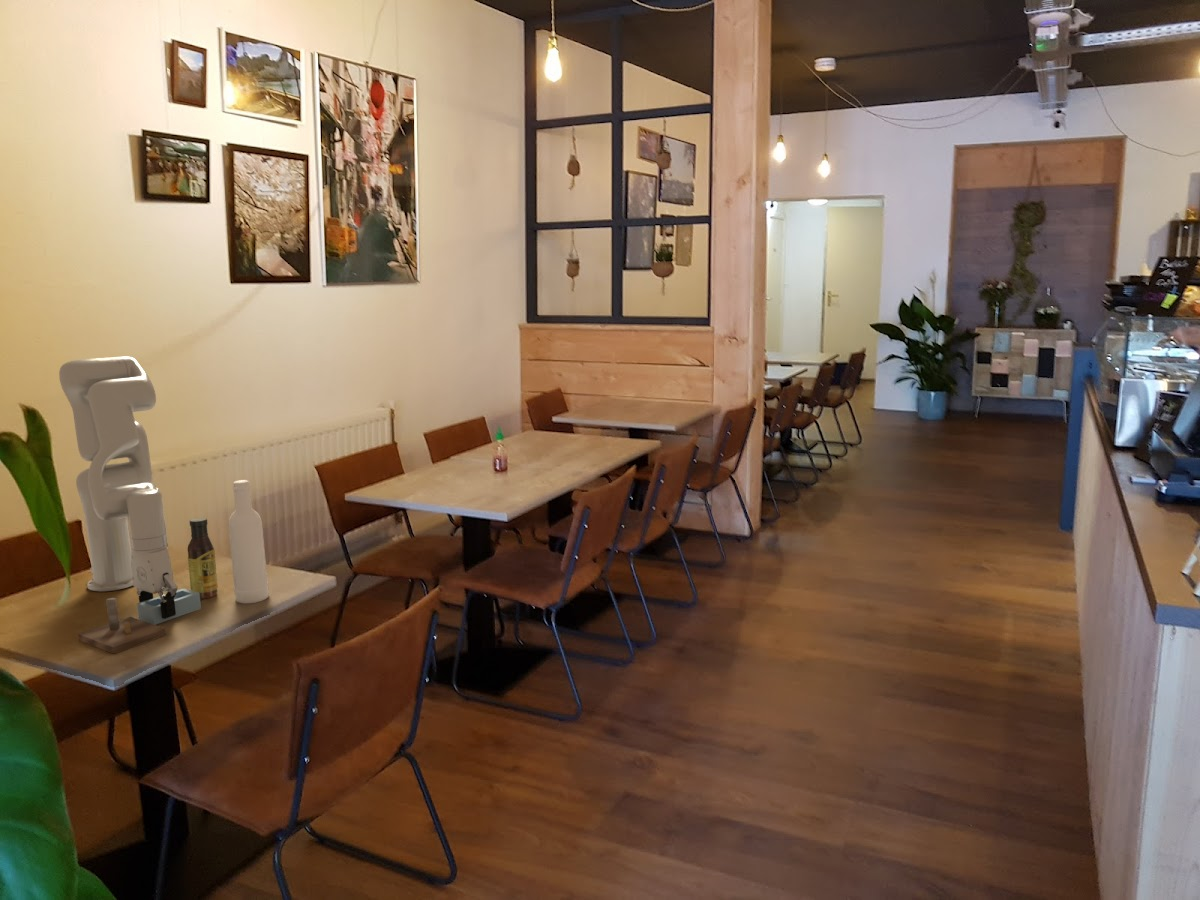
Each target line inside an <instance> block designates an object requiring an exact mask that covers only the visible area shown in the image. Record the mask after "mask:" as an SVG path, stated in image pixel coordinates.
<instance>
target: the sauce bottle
mask: <svg viewBox="0 0 1200 900" xmlns="http://www.w3.org/2000/svg"><path fill="white" fill-rule="evenodd" d="M189 526H190V532H191V533H190V534H191V536H190V537H191V539H190V541H189V543H188V545H187V554H188V555H187V564H188V574H189V583H190V585H189V587H190V590H191V591H195V592H198V593H200V600H203V599H209V598H213V597H215V596H216V595H217V594H218V587H219V586H218V578H217V576H218V575H217V563H216V553H215V548H214V546H213V543H212V542H211V539H210V537H209V533H208V519H207V517H195V518H191V519H190V520H189Z"/></svg>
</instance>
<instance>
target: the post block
mask: <svg viewBox="0 0 1200 900" xmlns="http://www.w3.org/2000/svg"><path fill="white" fill-rule="evenodd" d="M105 603H106V604H105V606H106V612H107V618H108V623H107V624H105V625H102V626H98V627H96V628H93V629H90V630H87V631H84V632H80V633H78V641H80V642H83V643H85V644H87V645H90V646H93V647H95V648H98V649H101V650H103V651H105V652H109V653H111V654H115V655H116V654H117V653H120V652H123V651H126V650H128V649H129V650H130V648H134V647H137V646H139V645H142V644H145V643H147V642H150V641H153V640H156V639H158V638H161V637H164V636H166V635H167V633H166V631H167V630H166V628H164V627H163V626H162V627H161V626H158V625H157V624H156V625H153V624H151V623H148V622H145V621H142V620H139V618H135V617H133V616H128V617H125V618H121V619H119V613H118V605H117V598H116V597H110V598H109V597H108V598H107V599H105Z"/></svg>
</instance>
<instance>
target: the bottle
mask: <svg viewBox="0 0 1200 900" xmlns="http://www.w3.org/2000/svg"><path fill="white" fill-rule="evenodd" d="M232 485H233V486H232V490H233V495H234V504H235V510H234V511H233V512H232V513H231V515H230V517H229V520H228V524H227V525H228V526H227V527H228V529H227V530H228V536H229V547H230V555H231V565H232V566H231V567H232V575H233V576H232V577H233V585H234V587H233V589H234V590H233V591H234V597H235V601H236V602H237V603H239V604H246V605H247V604H256V603H259V602H263V601H265V600H267V598H269V596H270V595H269V590H270V589H269V583H268V574H267V572H268V571H267V562H266V561H267V560H266V552H265V540H264V531H263V521H262V519H261V515H260V514H259V512H258V511H256V510H255V509H254V508H252V500H251V485H250V481H249V480H247V479H240V480H235V481H233V483H232Z"/></svg>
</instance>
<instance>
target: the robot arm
mask: <svg viewBox="0 0 1200 900" xmlns="http://www.w3.org/2000/svg"><path fill="white" fill-rule="evenodd" d="M58 377H59V382H60V383H59V384H60V386H61V388H62V391H63V393H64V395H65V397H66V399H67V400H68V402H69V405H70V407H71V409H72V414H73V421H74V429H75V430H74V431H75V436H76V437H75V438H76V443H77V447H78V449H77V450H78V453H79V454H80V457H81V458H82V459H83V460H84V461H86V462H90V466H89V468H86V469H84V470H82V471H80V472H79V474H78V475H77V477H76V479H75V484H76V485H75V486H76V489H77V493H78V496H79V499H80V503H81V505H82V511H83V516H84V520H85V529H86V534H87V543H88V550H89V556H90V557H89V558H90V564H91V567H90V568H89V572H91V573H92V579H90V580H88V582H87V584H86V585H87V589H88V590H89V591H93V592H112V591H119V590H124V589H126V588H129V587H134V588H135V589H136V595H138V601H139V602H138V603H140V602H144V601H147V600H150V599H153V598H154V594H155V595H156V594H158V597H159V596H160V598H161V601H162V602H161V603H160V606H161V615H162V618H163V619H166V618H169V617H171V616H174V615H176V611H175V602H174V599H175V596H176V591H177V590H178V589H179V588H178V585H177V583H176V582H175V581H174V573H173V572H174V571H173V567H172V563H171V562H172V561H171V557H170V553H169V550H168V547H169V544H168V535H167V527H166V526H167V525H166V518H165V510H164V508H165V507H164V501H163V495H162V492H161V491H160V489H159V488H158V487H156V485H155V484H154V481H153V471H152V470H153V469H152V463H151V456H150V449H149V440H148V436H147V433H146V430H145V428H144V427H143V425H142V424H141V423H140V422H138V421H136V420H135V416H134V413H135V412H136V413H137V412H143V411H150V410H152V409H154V408H155V406H156V403H157V395H156V391H155V387H154V385H153V382H152V381H151V379H150V377H149V376H148V374H147V372H146V371H145V370H144V369H143V367H142V366H141V364H140V363H139V362H138V360H137V359H136V358H134V357H133V356H109V357H93V358H83V359H82V358H81V359H75V360H70V361H67V362H64V363H63V364H62V365H61V366H60V369H59V373H58ZM125 458H127V459H128V461H126V462H121V463H110V464H108V463H109V462H110V461H111V460H118V459H125ZM165 592H166V593H165ZM165 594H166V595H165Z"/></svg>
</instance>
